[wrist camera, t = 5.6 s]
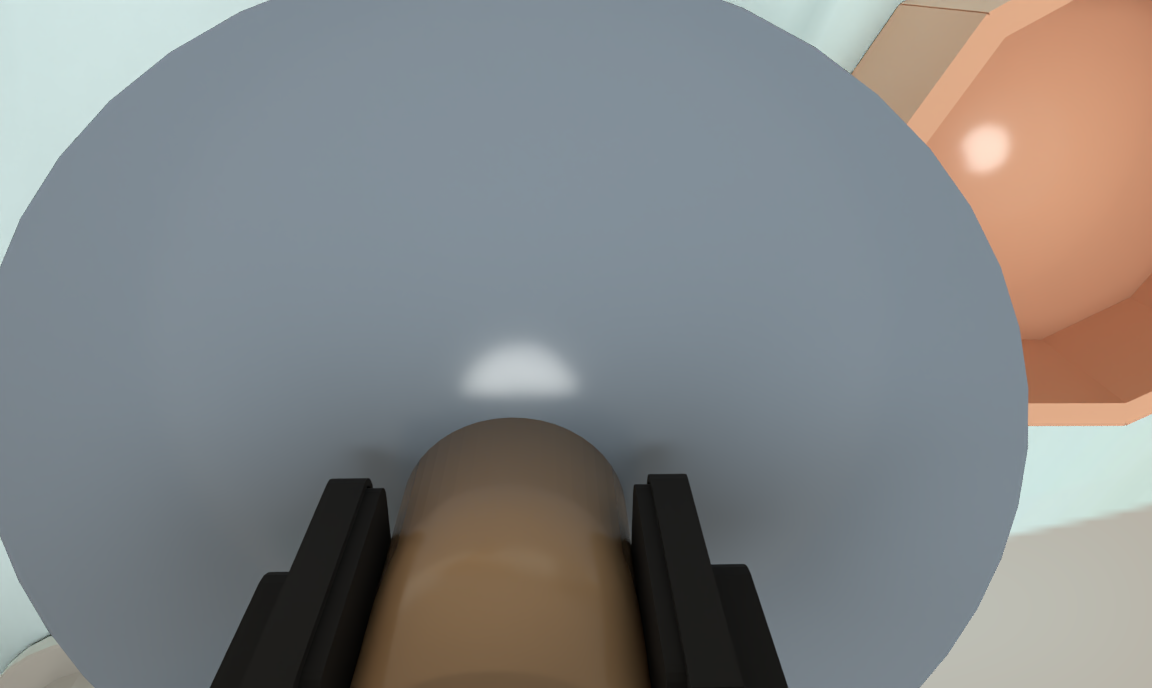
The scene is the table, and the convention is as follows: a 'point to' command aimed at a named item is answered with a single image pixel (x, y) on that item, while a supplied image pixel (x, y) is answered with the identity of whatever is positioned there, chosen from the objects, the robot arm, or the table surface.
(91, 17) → the table surface
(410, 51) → the lid
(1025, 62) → the bowl
